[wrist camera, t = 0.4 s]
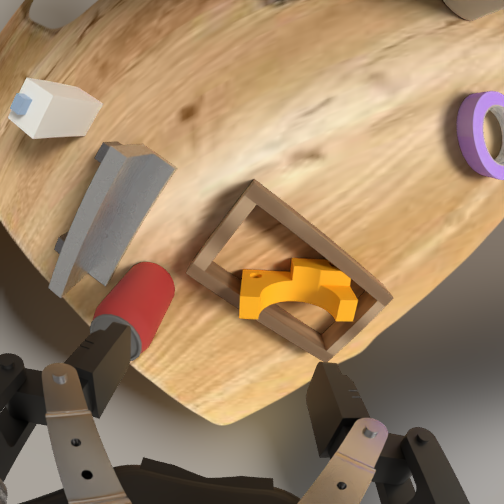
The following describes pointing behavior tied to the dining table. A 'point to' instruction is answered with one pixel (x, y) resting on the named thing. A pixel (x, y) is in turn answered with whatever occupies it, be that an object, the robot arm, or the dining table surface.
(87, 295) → the dining table surface
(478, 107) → the masking tape
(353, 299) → the pipe clamp
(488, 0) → the travel mug
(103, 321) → the beer can
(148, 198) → the rail
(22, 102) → the white rectangular block
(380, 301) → the parts corral
